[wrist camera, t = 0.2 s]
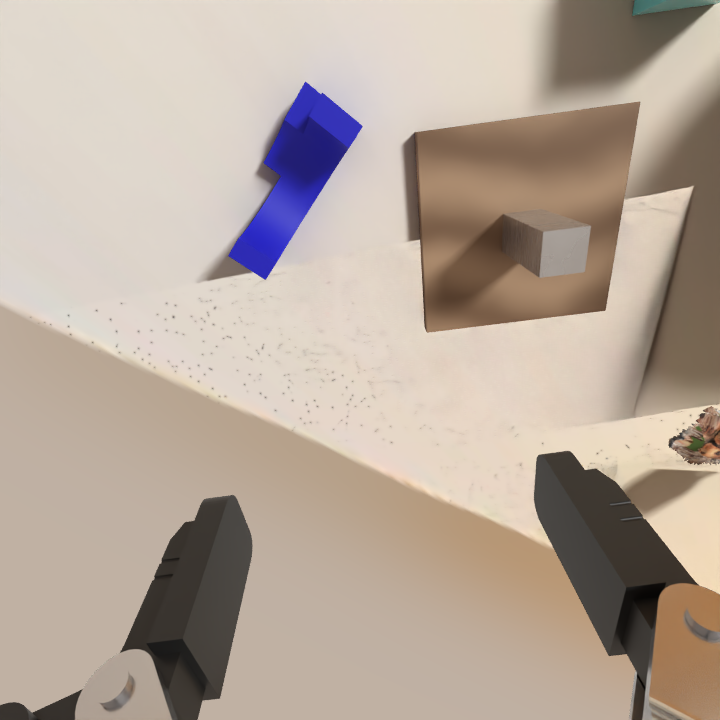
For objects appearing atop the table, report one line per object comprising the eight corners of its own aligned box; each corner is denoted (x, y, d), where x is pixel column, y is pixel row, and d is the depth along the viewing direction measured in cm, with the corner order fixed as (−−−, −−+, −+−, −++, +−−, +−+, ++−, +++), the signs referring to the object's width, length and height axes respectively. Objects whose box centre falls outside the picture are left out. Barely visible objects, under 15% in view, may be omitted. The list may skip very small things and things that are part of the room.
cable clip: (309, 87, 30) (301, 75, 24) (359, 129, 31) (362, 126, 26) (229, 227, 34) (208, 243, 29) (277, 259, 35) (265, 280, 30)
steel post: (503, 213, 33) (543, 231, 26) (541, 208, 33) (591, 225, 26) (501, 251, 34) (539, 277, 28) (538, 246, 34) (584, 272, 28)
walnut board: (414, 132, 31) (417, 132, 30) (630, 102, 31) (640, 101, 30) (424, 327, 38) (427, 332, 37) (598, 305, 38) (605, 310, 37)
